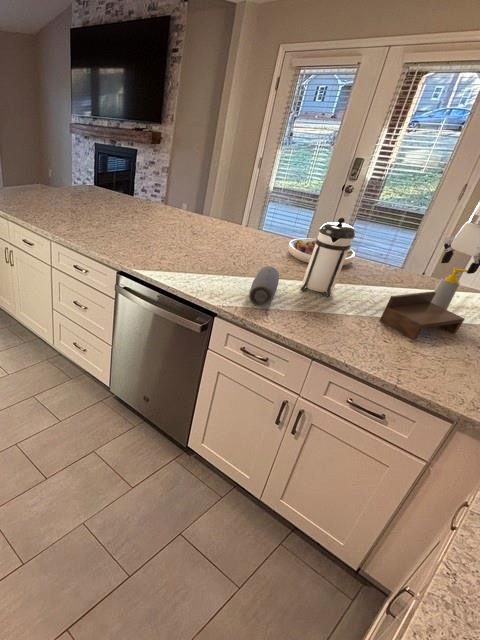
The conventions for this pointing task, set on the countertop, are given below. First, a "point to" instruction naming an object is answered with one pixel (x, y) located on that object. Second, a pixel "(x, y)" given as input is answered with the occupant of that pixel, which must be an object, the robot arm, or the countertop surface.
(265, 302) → the bluetooth speaker
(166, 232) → the countertop surface
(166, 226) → the countertop surface
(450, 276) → the soap bottle
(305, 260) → the bowl
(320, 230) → the coffee press
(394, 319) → the shelf
